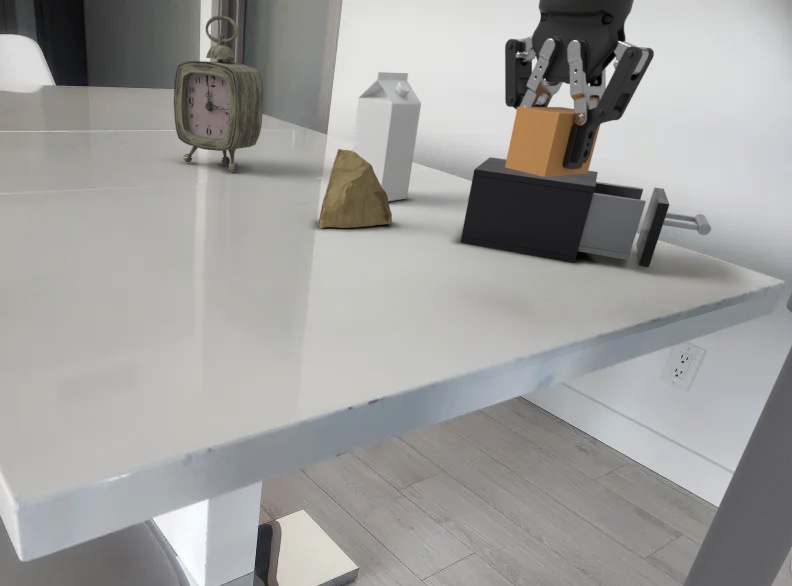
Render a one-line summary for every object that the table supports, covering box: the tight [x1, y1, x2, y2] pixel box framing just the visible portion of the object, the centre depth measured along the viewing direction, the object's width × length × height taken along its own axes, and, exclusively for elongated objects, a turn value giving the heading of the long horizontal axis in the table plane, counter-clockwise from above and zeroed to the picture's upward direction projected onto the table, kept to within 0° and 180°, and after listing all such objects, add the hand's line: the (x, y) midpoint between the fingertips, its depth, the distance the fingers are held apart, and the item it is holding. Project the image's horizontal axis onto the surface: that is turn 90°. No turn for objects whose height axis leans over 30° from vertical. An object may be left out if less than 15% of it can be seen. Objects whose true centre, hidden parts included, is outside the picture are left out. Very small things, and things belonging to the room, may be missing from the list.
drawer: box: [577, 181, 712, 268], centre depth 87 cm, size 19×11×8 cm, turn 66°
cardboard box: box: [505, 106, 601, 177], centre depth 63 cm, size 6×5×5 cm
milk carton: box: [352, 71, 422, 202], centre depth 108 cm, size 7×7×19 cm
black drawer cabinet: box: [460, 156, 599, 264], centre depth 91 cm, size 15×13×10 cm
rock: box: [318, 148, 393, 229], centre depth 93 cm, size 11×9×10 cm
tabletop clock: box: [173, 15, 264, 173], centre depth 121 cm, size 14×9×25 cm, turn 56°
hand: (548, 162), depth 64 cm, fingers closed on cardboard box, 4 cm apart
